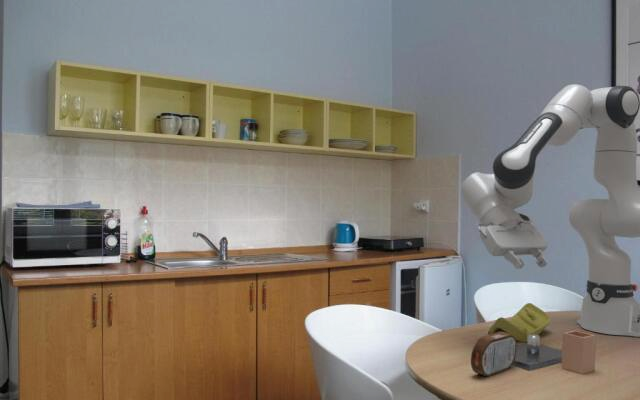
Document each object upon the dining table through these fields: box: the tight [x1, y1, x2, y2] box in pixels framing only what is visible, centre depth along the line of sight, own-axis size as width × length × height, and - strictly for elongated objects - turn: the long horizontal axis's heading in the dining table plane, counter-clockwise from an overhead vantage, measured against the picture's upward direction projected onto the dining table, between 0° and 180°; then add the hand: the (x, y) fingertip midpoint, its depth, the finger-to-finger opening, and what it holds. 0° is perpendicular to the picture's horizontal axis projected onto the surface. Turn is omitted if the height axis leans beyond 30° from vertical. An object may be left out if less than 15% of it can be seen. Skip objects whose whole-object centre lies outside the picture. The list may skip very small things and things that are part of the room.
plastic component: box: [487, 302, 551, 343], centre depth 157 cm, size 20×7×10 cm
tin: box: [470, 331, 518, 377], centre depth 121 cm, size 15×3×8 cm, turn 131°
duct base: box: [512, 334, 562, 371], centre depth 133 cm, size 18×12×5 cm, turn 124°
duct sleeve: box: [561, 329, 597, 375], centre depth 125 cm, size 5×5×8 cm
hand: (532, 266), depth 135 cm, fingers open, 8 cm apart
